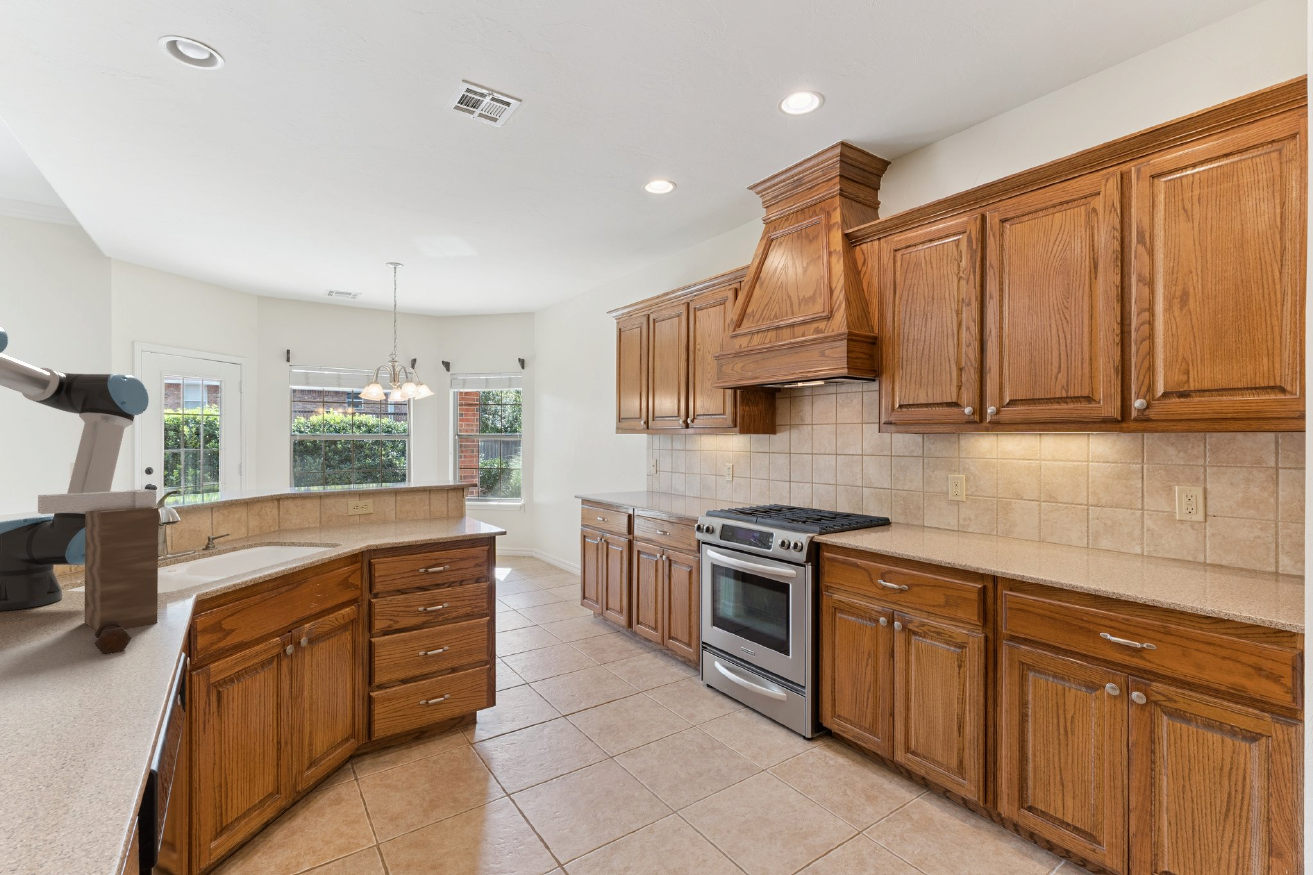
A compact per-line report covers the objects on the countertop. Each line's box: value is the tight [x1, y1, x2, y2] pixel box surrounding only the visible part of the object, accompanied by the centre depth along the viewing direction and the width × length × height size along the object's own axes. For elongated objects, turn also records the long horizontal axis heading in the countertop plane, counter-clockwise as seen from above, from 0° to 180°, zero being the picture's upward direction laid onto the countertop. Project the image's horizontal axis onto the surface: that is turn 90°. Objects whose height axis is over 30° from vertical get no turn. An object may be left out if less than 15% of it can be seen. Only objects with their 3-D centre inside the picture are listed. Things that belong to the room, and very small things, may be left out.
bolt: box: [94, 621, 132, 655], centre depth 133 cm, size 6×5×15 cm
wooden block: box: [83, 506, 159, 632], centre depth 149 cm, size 14×10×28 cm
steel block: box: [37, 488, 157, 515], centre depth 145 cm, size 7×20×4 cm, turn 144°
